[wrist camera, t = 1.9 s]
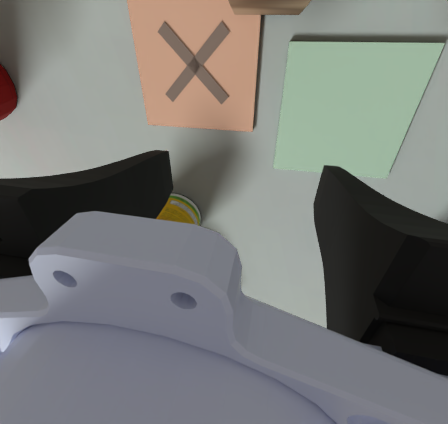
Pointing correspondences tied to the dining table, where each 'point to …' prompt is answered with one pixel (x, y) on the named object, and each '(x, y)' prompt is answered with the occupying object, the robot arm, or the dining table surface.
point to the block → (268, 7)
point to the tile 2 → (350, 103)
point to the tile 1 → (196, 63)
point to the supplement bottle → (180, 210)
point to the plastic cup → (6, 94)
